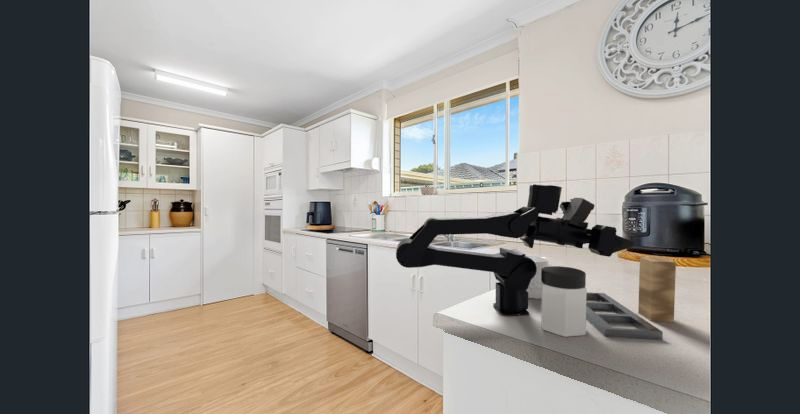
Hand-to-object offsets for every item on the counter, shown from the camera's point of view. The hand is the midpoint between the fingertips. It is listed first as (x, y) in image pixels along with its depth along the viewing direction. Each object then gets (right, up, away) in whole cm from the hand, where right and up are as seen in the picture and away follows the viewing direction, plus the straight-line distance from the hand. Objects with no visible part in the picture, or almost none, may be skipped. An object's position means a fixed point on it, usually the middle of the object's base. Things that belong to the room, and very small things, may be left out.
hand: (619, 240), depth 74 cm
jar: (-18, -17, -9) cm, 26 cm away
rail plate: (-5, -17, -2) cm, 17 cm away
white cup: (-15, -16, +12) cm, 25 cm away
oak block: (+6, -17, -4) cm, 18 cm away
